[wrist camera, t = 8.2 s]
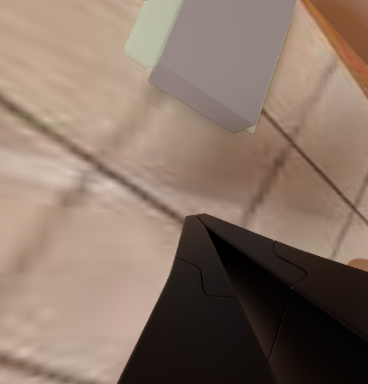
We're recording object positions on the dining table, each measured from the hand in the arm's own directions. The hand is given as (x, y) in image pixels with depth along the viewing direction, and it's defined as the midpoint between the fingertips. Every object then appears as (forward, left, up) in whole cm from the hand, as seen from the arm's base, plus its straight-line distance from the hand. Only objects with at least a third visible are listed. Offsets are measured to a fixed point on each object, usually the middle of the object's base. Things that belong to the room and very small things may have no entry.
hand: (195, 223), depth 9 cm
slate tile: (+5, -8, -8) cm, 13 cm away
